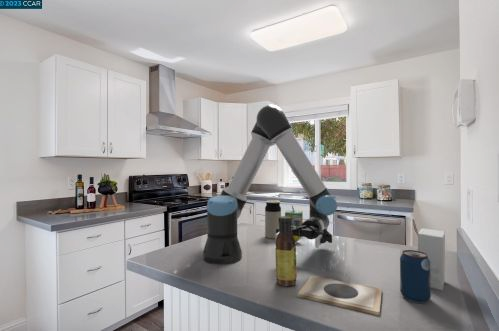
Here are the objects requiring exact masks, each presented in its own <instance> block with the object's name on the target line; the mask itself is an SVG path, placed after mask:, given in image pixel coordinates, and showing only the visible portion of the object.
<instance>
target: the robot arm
mask: <svg viewBox="0 0 499 331" xmlns="http://www.w3.org/2000/svg"><path fill="white" fill-rule="evenodd" d="M292 131H293V127H292V125H291V124H290V122H289V120H288V118H287V116H286V114H285V113H284V111H283V109H282V108H280V107H279V106H277V105H275V104H268V105H264V106H263V107H261V108H260V109H259V111H258V113H257V115H256V122H255V124H254V126H253V128H252V130H251V132H250V134H251V135H250V136H251V140H250V141H249V144H248V145H247V148H246V150H245V152H244V154H243V156H242V158H241V159H240V162H239V164H238V165H237V168H236V170H235V172H234V174H233V176H232V178H231V180H230V182H229V184H228V186H226V187H224V188H222V191H221V193H220V194H219V195H216V196H212V197H210V198H208V200H207V204H206V205H207V206H206V210H207V211H206V212H207V213H206V215H207V216H206V219H207V220H206V223H207V224H206V229H207V232H206V233H207V238H206V241H205V245H204V248H203V251H202V260H203V261H204V262H207V263H210V264H213V265H226V264H232V263H235V262H239V261H240V260H242V258H243V251H242V247H241V245H240V242H239V238H238V218H240V216H241V214H242V211H243V209H244V207H245V205H246V202H247V201H248V199H247V196H246V195H247V193H248V191H249V189H250V187H251V185H252V184H253V182H254V179H255V177H256V175H257V173H258V171H259V169H260V167H261V165H262V163H263V161H264V159H265V157H266V155H267V153H268V151H269V149H270V147H272V146H275V145H276V147H277V148H278V150H279V151H280V153H281V155H282V157H283V158H284V160H285V161H286V163H287V164H288V166H289V168H290V170H291V171H292V173H293V174H294V176H295V177H296V179H297V180H298V182H299V184H300V186H301V187H302V188H303V190H304V192H305V193H306V195H307V196H308V198H309V199H308V201H309V217H308V218H307V219H305V220H303V223H302V225H301V226H300V227H296V228H295V226H294V225H293V226H291V229H292V233H293V236H298V237H299V236H301V237H304V238H306V239H307V240H314V246H315V249H316V248H319V247H320V246H321V245H322V244H325V243H326V244H327V243H329V244H332V243H333V235H332V234H331V233H330V232H329V231H328V227H329V225H330V218H329V216H331V215H334V213H335V212H336V211H337V209H338V203H337V200H336V199H335V197H334V196H333V195H331V193H330V192H329V190H328V188H327V187H326V185H325V183H324V182H323V181H322V180H323V179H321V177H320V175H319V174H318V172H317V171H316V169H315V167H314V166H313V164H312V162H311V161H310V159H309V158H308V157H307V154H306V153H305V151H304V150H303V148H302V146H301V145H300V143H299V142H298V140H297V138H296V137H295V135H294V134H293V132H292ZM279 232H280V231H279V229H276V234H275V242H276V238H277V236H278V234H279ZM299 233H300V234H299Z"/></svg>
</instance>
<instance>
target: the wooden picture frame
mask: <svg viewBox="0 0 499 331" xmlns="http://www.w3.org/2000/svg"><path fill="white" fill-rule="evenodd" d="M382 294H383V288H380V287H375V286H369V285H364V284H358V283H352V282H349V281H343V280H342V281H341V280H337V279H332V278H327V277H323V276H316V275H310V277H309V279H308V280H307V281H306V283H304V285H303V286H302V287H301V289H300V290H299V292H297V297H298V298H302V299H307V300H309V301H315V302H320V303H323V304H329V305H332V306H336V307H342V308H346V309H351V310H353V311H354V310H355V311H357V312H362V313H365V314H371V315H375V316H380V315H381V314H380V311H381V303H382Z"/></svg>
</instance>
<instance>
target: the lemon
mask: <svg viewBox="0 0 499 331" xmlns="http://www.w3.org/2000/svg"><path fill="white" fill-rule="evenodd" d="M293 224H294V223H291V226H292V225H293ZM296 226H297V227H300V225H296ZM296 226H295V228H296ZM299 234H300V233H299ZM301 238H302V236H299V237H298V236H294V239H295V242H296V243H297V242H298V241H300V240H301Z"/></svg>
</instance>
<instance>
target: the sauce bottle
mask: <svg viewBox="0 0 499 331" xmlns="http://www.w3.org/2000/svg"><path fill="white" fill-rule="evenodd" d="M291 222H292V218H291V217H288V216H285V215H284V216H283V215H281V217H279V231H280V232H279V234H278V236H277V238H276V241H275V278H276V283H277V284H278V285H280V286H283V287H291V286H294V285H296V284H297V242H295V239H294V236H293V233H292V229H291Z"/></svg>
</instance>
